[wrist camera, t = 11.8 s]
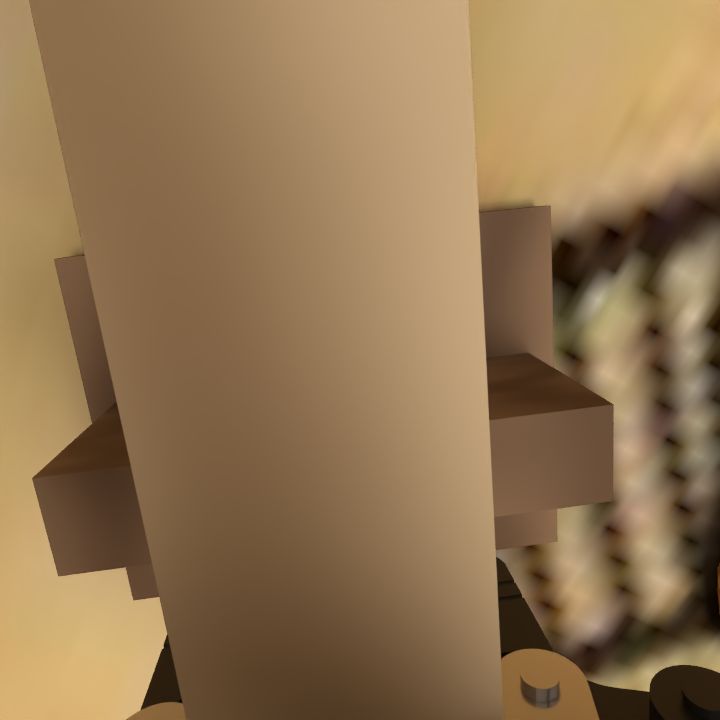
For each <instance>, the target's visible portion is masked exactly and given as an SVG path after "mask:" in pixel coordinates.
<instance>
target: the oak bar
mask: <svg viewBox="0 0 720 720" xmlns="http://www.w3.org/2000/svg"><path fill="white" fill-rule="evenodd" d="M29 3H30V7H31V12H32V17H33V21H34V26H35V30H36V35H37V39H38V44H39V49H40V53H41V58H42V62H43V67H44V71H45V76H46V81H47V85H48V90H49V94H50V99H51V103H52V108H53V113H54V117H55V122H56V126H57V131H58V135H59V140H60V145H61V149H62V154H63V158H64V163H65V167H66V172H67V177H68V181H69V186H70V190H71V195H72V199H73V204H74V209H75V213H76V218H77V222H78V227H79V231H80V236H81V241H82V245H83V250H84V254H85V259H86V263H87V268H88V273H89V277H90V282H91V286H92V291H93V295H94V300H95V305H96V309H97V314H98V318H99V323H100V327H101V332H102V337H103V341H104V346H105V350H106V355H107V359H108V364H109V369H110V373H111V378H112V382H113V387H114V391H115V396H116V401H117V405H118V410H119V414H120V419H121V424H122V428H123V433H124V437H125V442H126V446H127V451H128V456H129V460H130V465H131V469H132V474H133V478H134V483H135V488H136V492H137V497H138V501H139V506H140V510H141V515H142V520H143V524H144V529H145V533H146V538H147V542H148V547H149V552H150V556H151V561H152V565H153V570H154V574H155V579H156V584H157V588H158V593H159V597H160V602H161V606H162V611H163V616H164V620H165V625H166V629H167V634H168V638H169V643H170V648H171V652H172V657H173V661H174V666H175V670H176V675H177V680H178V684H179V689H180V693H181V698H182V702H183V707H184V712H185V716H186V720H504V710H503V689H502V669H501V649H500V629H499V609H498V589H497V568H496V548H495V528H494V508H493V488H492V467H491V447H490V427H489V407H488V387H487V367H486V346H485V326H484V306H483V286H482V266H481V245H480V225H479V205H478V185H477V165H476V145H475V124H474V104H473V84H472V64H471V44H470V23H469V3H468V0H29Z"/></svg>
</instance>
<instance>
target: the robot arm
mask: <svg viewBox="0 0 720 720" xmlns="http://www.w3.org/2000/svg"><path fill="white" fill-rule="evenodd" d="M496 568H497V589H498V609H499V629H500V649H501V669H502V689H503V710H504V720H720V673H718V672H715V671H713V670H710V669H706V668H703V667H698V666H691V665H677V666H671V667H667V668H665V669H663V670H661V671H659V672H658V673H657V674H656V675H655V676H654V677H653V679H652V681H651V683H650V692H646V691H637V690H629V689H621V688H613V687H608V686H603V685H600V684H596V683H593V682H591V681H588V680H586V677H585V676H584V674H583V673H582V671H581V670H580V669H579V668H578V667H577V666H576V665H575V664H574V663H572V662H571V661H570V660H568V659H567V658H565V657H563V656H561V655H559V654H557V653H554V651H553V649H552V647H551V646H550V644H549V642H548V640H547V638H546V637H545V635H544V633H543V631H542V630H541V628H540V626H539V624H538V622H537V621H536V619H535V617H534V615H533V613H532V612H531V610H530V608H529V606H528V604H527V603H526V601H525V599H524V598H522V594H521V592H520V590H519V588H518V587H517V585H516V583H514V579H513V578H512V576H511V574H510V572H509V570H508V569H507V567H506V565H505V563H504V562H503V561H501V560H500V559H499V558H497V557H496ZM126 720H186V716H185V712H184V707H183V702H182V698H181V693H180V689H179V684H178V680H177V675H176V670H175V666H174V661H173V657H172V652H171V648H170V643H169V638H168V634H167V637H166V640H165V642H164V649H162V651H161V654H160V657H159V659H158V662H157V665H156V668H155V671H154V674H153V676H152V679H151V682H150V685H149V688H148V690H147V693H146V696H145V699H144V702H143V705H142V707H141V710H140V711H138V712H137V713H135V714H134V715H132V716H130V717H129V718H128V719H126Z"/></svg>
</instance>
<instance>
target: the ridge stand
mask: <svg viewBox="0 0 720 720" xmlns="http://www.w3.org/2000/svg"><path fill="white" fill-rule="evenodd" d="M479 225H480V245H481V266H482V286H483V306H484V326H485V346H486V367H487V387H488V407H489V427H490V447H491V467H492V488H493V508H494V528H495V548H496V550H499V549H507V548H514V547H521V546H528V545H535V544H542V543H550V542H557V509H558V508H565V507H572V506H580V505H587V504H594V503H602V502H609V501H613V404H612V403H610V402H609V401H607V400H605V399H604V398H602V397H600V396H599V395H597V394H595V393H594V392H592V391H590V390H589V389H587V388H586V387H584V386H582V385H581V384H579V383H577V382H576V381H574V380H572V379H571V378H569V377H568V376H566V375H564V374H563V373H561V372H559V371H558V370H556V369H554V349H553V300H552V252H551V206H537V207H527V208H518V209H508V210H499V211H490V212H481V213H479ZM54 261H55V265H56V270H57V274H58V278H59V283H60V287H61V291H62V295H63V300H64V304H65V308H66V313H67V317H68V321H69V325H70V330H71V334H72V338H73V343H74V347H75V351H76V356H77V360H78V364H79V368H80V373H81V377H82V381H83V386H84V390H85V394H86V398H87V403H88V407H89V411H90V416H91V420H92V424H91V425H90V426H89V427H88V428H87V429H86V430H85V431H84V432H83V433H82V434H80V435H79V436H78V437H77V438H76V439H75V440H74V441H73V442H72V443H71V444H69V445H68V446H67V447H66V448H65V449H64V450H63V451H62V452H61V453H60V454H58V455H57V456H56V457H55V458H54V459H53V460H52V461H51V462H50V463H49V464H47V465H46V466H45V467H44V468H43V469H42V470H41V471H40V472H39V473H38V474H36V475H35V476H34V477H33V478H32V479H33V483H34V487H35V491H36V494H37V498H38V502H39V506H40V509H41V513H42V517H43V520H44V524H45V528H46V532H47V535H48V539H49V543H50V547H51V550H52V554H53V558H54V562H55V565H56V569H57V573H58V576H65V575H72V574H79V573H87V572H94V571H101V570H109V569H116V568H124V567H126V570H127V575H128V579H129V583H130V587H131V592H132V596H133V600H140V599H147V598H154V597H159V593H158V588H157V584H156V579H155V574H154V570H153V565H152V561H151V556H150V552H149V547H148V542H147V538H146V533H145V529H144V524H143V520H142V515H141V510H140V506H139V501H138V497H137V492H136V488H135V483H134V478H133V474H132V469H131V465H130V460H129V456H128V451H127V446H126V442H125V437H124V433H123V428H122V424H121V419H120V414H119V410H118V405H117V401H116V396H115V391H114V387H113V382H112V378H111V373H110V369H109V364H108V359H107V355H106V350H105V346H104V341H103V337H102V332H101V327H100V323H99V318H98V314H97V309H96V305H95V300H94V295H93V291H92V286H91V282H90V277H89V273H88V268H87V263H86V259H85V255H81V256H72V257H65V258H58V259H54Z"/></svg>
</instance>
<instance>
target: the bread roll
mask: <svg viewBox="0 0 720 720" xmlns="http://www.w3.org/2000/svg"><path fill="white" fill-rule="evenodd" d="M717 571H718V588H717V593H718V600H719V613H720V563H719V566H718V568H717Z"/></svg>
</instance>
